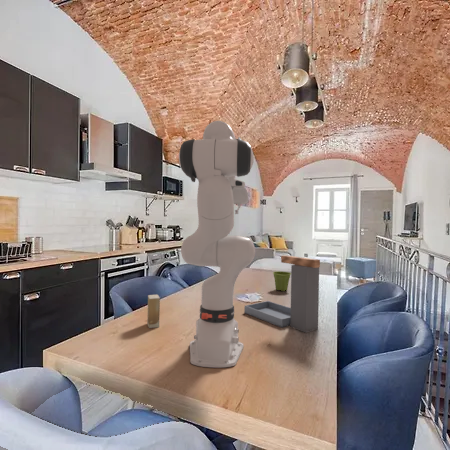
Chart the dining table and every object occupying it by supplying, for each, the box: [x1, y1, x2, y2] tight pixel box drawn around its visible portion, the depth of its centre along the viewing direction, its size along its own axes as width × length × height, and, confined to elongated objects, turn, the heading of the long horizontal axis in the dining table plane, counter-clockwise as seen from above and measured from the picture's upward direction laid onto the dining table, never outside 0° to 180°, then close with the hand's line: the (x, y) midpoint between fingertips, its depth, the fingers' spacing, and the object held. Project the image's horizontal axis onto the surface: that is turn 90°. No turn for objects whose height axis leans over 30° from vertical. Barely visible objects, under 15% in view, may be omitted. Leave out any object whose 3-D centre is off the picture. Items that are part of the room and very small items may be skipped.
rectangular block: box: [280, 255, 321, 268], centre depth 125 cm, size 18×3×3 cm, turn 37°
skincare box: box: [146, 294, 161, 329], centre depth 122 cm, size 6×4×12 cm
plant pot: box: [272, 271, 291, 292], centre depth 190 cm, size 12×12×11 cm
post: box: [289, 264, 320, 333], centre depth 122 cm, size 8×8×26 cm
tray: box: [243, 300, 291, 328], centre depth 136 cm, size 24×16×4 cm, turn 37°
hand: (226, 214), depth 133 cm, fingers open, 8 cm apart
